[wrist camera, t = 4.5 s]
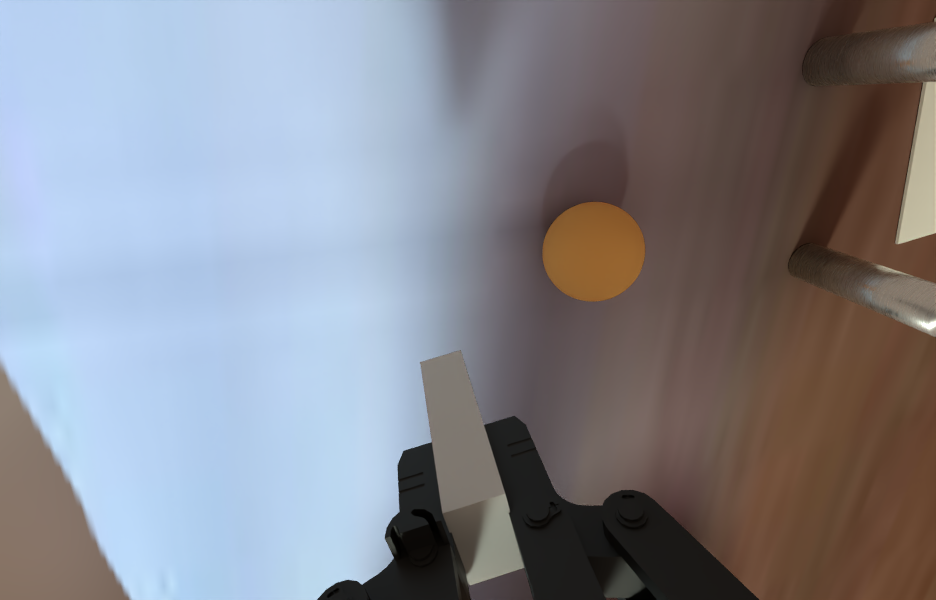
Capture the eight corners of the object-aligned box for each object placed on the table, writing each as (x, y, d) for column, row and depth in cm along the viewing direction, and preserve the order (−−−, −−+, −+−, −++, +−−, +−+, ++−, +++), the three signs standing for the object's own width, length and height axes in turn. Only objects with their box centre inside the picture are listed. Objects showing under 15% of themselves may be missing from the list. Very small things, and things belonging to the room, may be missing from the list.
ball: (538, 291, 29) (570, 330, 24) (522, 207, 27) (555, 231, 22) (619, 267, 29) (668, 301, 24) (611, 182, 27) (663, 201, 22)
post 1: (800, 90, 27) (982, 86, 19) (804, 43, 26) (998, 16, 18) (840, 80, 27) (1037, 71, 19) (844, 32, 26) (1055, 0, 18)
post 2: (787, 281, 32) (924, 343, 24) (789, 248, 31) (934, 301, 23) (819, 272, 32) (967, 329, 24) (823, 238, 31) (978, 287, 23)
